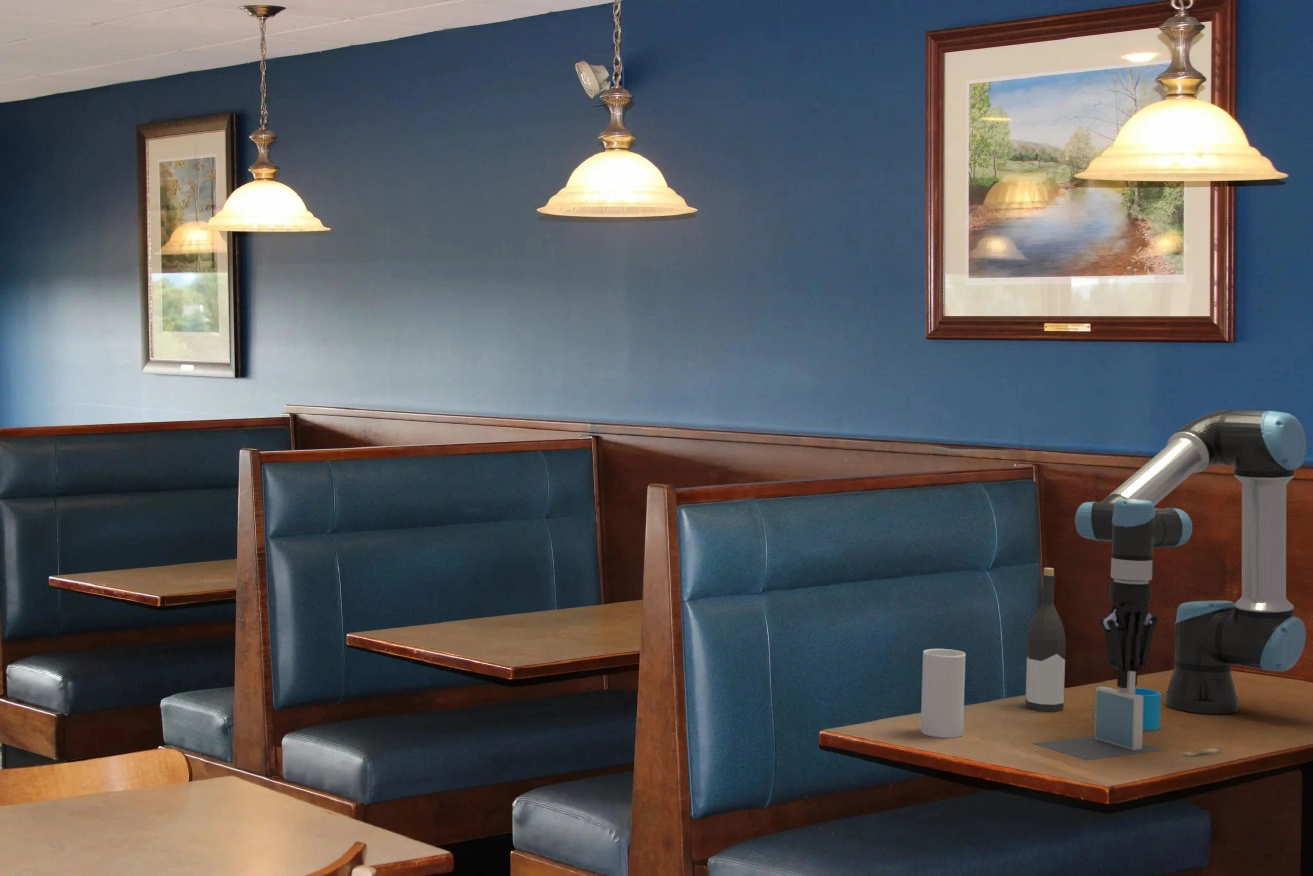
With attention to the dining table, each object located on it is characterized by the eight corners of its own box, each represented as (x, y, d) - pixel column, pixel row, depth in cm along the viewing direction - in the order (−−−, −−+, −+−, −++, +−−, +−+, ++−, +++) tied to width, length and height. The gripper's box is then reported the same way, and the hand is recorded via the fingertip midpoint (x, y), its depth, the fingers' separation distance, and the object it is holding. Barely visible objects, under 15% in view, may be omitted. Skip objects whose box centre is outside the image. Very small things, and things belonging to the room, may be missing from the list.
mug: (1168, 735, 311) (1169, 694, 311) (1134, 738, 308) (1136, 696, 308) (1128, 722, 322) (1130, 683, 322) (1096, 724, 319) (1097, 685, 319)
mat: (1109, 740, 306) (1109, 733, 306) (1164, 756, 293) (1164, 749, 293) (1031, 749, 296) (1032, 743, 296) (1085, 766, 284) (1085, 760, 284)
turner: (1204, 754, 295) (1204, 746, 295) (1229, 761, 290) (1229, 753, 290) (1141, 763, 288) (1142, 755, 288) (1166, 771, 282) (1167, 762, 282)
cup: (965, 730, 311) (968, 650, 310) (959, 739, 303) (962, 657, 302) (924, 726, 313) (926, 647, 313) (917, 735, 306) (919, 654, 305)
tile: (1103, 737, 302) (1104, 686, 301) (1142, 749, 293) (1143, 696, 293) (1093, 739, 301) (1094, 687, 300) (1132, 750, 292) (1133, 697, 291)
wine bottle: (1050, 703, 339) (1054, 565, 338) (1071, 711, 332) (1076, 570, 331) (1017, 704, 337) (1022, 566, 336) (1038, 712, 329) (1042, 571, 328)
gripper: (1140, 577, 303) (1136, 698, 304) (1091, 580, 297) (1086, 703, 298) (1170, 582, 296) (1165, 705, 297) (1120, 585, 290) (1115, 711, 291)
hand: (1126, 704), depth 297 cm, fingers closed
